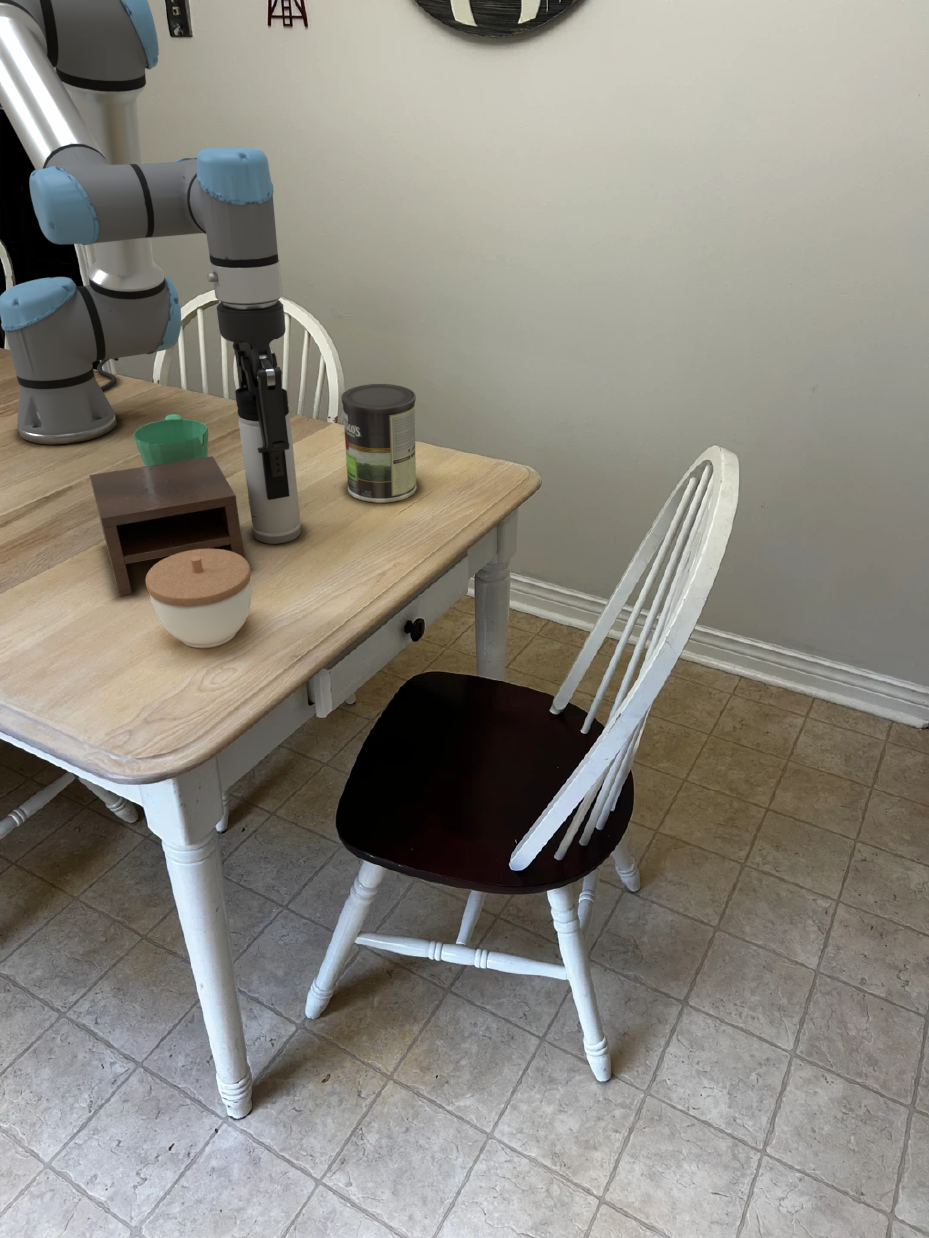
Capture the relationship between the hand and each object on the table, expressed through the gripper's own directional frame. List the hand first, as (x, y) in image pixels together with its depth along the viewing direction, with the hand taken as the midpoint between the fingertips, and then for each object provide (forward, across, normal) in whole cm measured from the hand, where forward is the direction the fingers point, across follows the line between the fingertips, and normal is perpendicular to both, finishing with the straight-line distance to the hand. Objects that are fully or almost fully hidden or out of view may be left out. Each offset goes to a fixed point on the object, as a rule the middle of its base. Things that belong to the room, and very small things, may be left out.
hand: (271, 486), depth 112 cm
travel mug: (+7, 0, 0) cm, 7 cm away
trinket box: (+7, +20, -13) cm, 25 cm away
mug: (+7, -19, -9) cm, 22 cm away
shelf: (+7, +2, -14) cm, 15 cm away
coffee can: (+7, -8, +18) cm, 21 cm away
